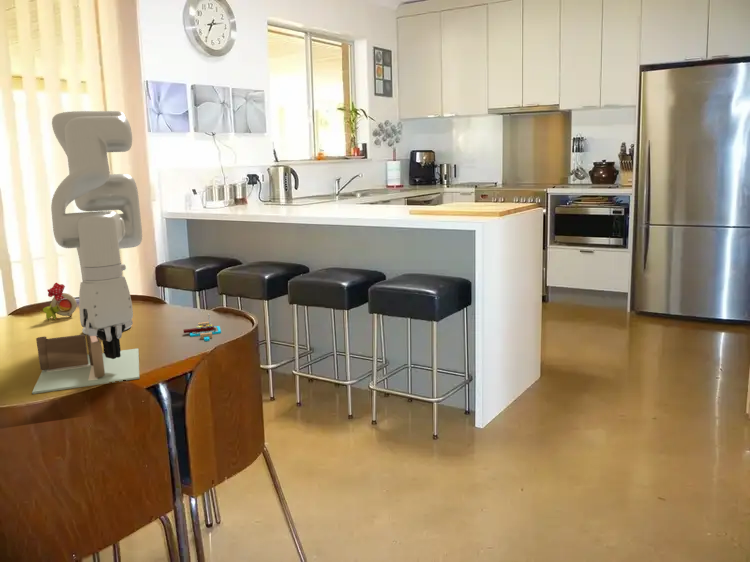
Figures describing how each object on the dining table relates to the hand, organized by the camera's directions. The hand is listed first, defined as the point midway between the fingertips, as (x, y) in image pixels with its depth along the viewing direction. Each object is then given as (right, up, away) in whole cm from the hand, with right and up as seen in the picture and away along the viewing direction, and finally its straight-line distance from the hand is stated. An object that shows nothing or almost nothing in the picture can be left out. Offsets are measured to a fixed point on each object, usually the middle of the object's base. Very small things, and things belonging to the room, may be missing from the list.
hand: (113, 357), depth 143 cm
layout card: (-6, -3, +3) cm, 7 cm away
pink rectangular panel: (-3, -3, -1) cm, 4 cm away
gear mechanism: (+11, +2, +32) cm, 34 cm away
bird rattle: (-40, +5, +62) cm, 74 cm away
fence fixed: (-11, -3, +4) cm, 12 cm away
